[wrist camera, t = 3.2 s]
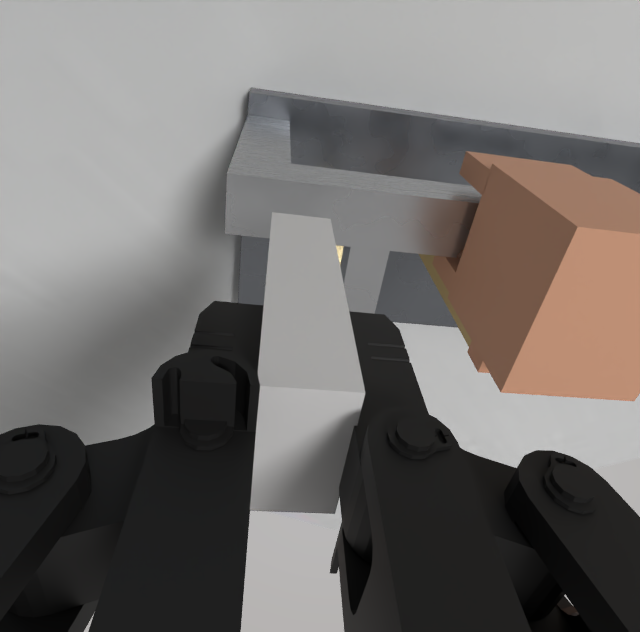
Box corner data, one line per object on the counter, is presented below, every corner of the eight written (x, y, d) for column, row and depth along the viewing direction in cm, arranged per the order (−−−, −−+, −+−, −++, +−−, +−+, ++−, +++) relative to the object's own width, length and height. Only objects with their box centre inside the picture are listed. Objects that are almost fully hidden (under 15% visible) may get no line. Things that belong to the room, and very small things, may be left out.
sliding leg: (386, 242, 26) (475, 447, 14) (418, 108, 22) (577, 227, 10) (454, 249, 27) (598, 453, 14) (497, 119, 23) (739, 245, 11)
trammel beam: (243, 221, 26) (221, 328, 17) (249, 111, 23) (226, 173, 14) (657, 265, 30) (816, 374, 21) (711, 174, 26) (925, 256, 18)
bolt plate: (239, 296, 29) (237, 308, 28) (250, 87, 23) (249, 92, 22) (614, 328, 33) (627, 341, 31) (716, 154, 26) (737, 161, 25)
